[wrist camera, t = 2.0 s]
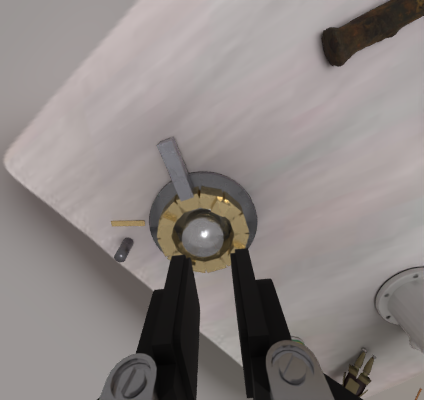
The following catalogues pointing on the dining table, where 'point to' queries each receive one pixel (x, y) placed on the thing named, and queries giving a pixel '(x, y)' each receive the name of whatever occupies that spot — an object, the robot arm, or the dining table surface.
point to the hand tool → (369, 29)
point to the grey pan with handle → (192, 200)
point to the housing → (197, 218)
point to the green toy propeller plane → (360, 376)
